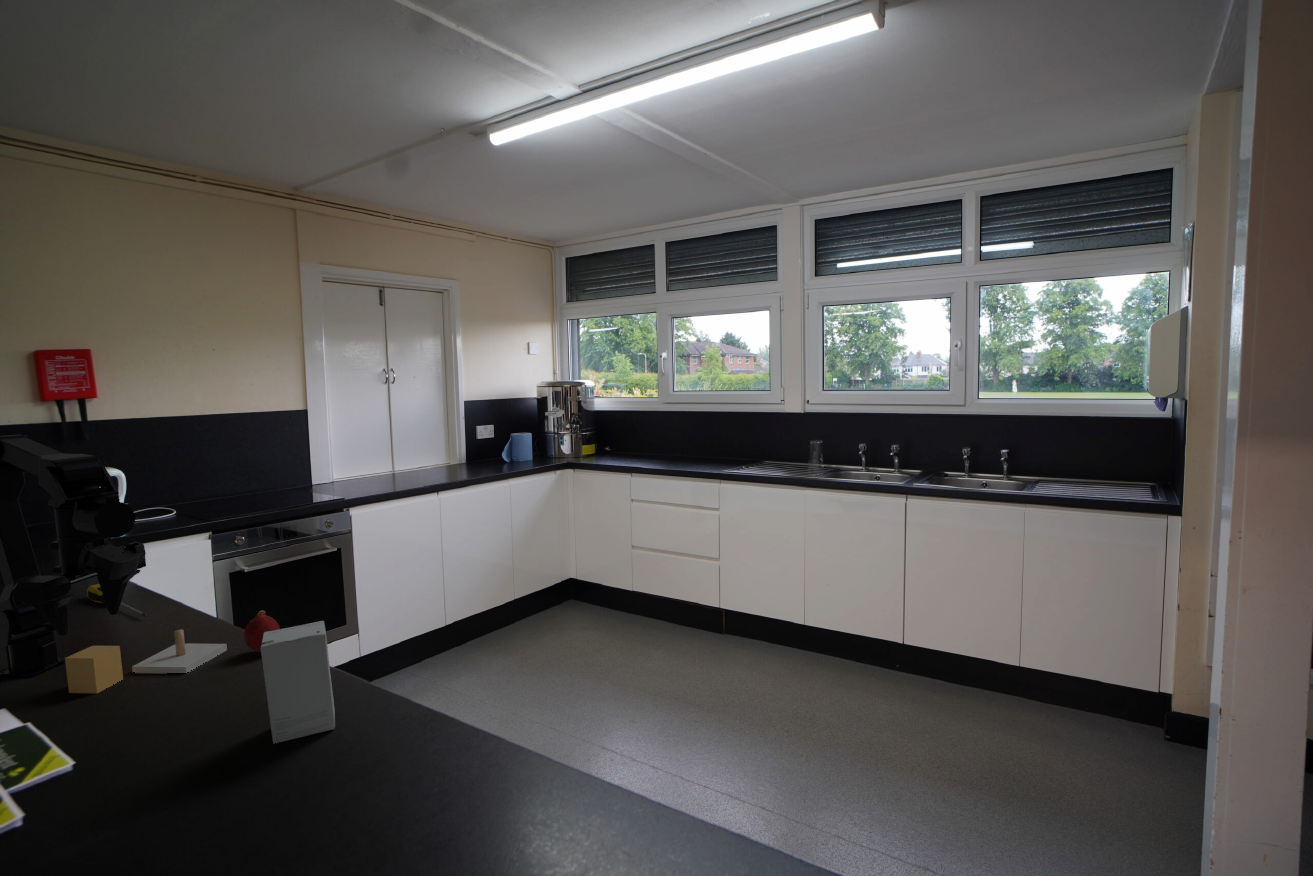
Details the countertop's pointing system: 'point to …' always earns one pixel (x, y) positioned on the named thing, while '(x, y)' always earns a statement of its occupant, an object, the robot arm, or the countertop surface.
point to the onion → (259, 630)
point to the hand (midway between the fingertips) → (89, 624)
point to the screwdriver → (97, 596)
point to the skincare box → (298, 681)
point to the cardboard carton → (94, 669)
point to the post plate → (179, 657)
